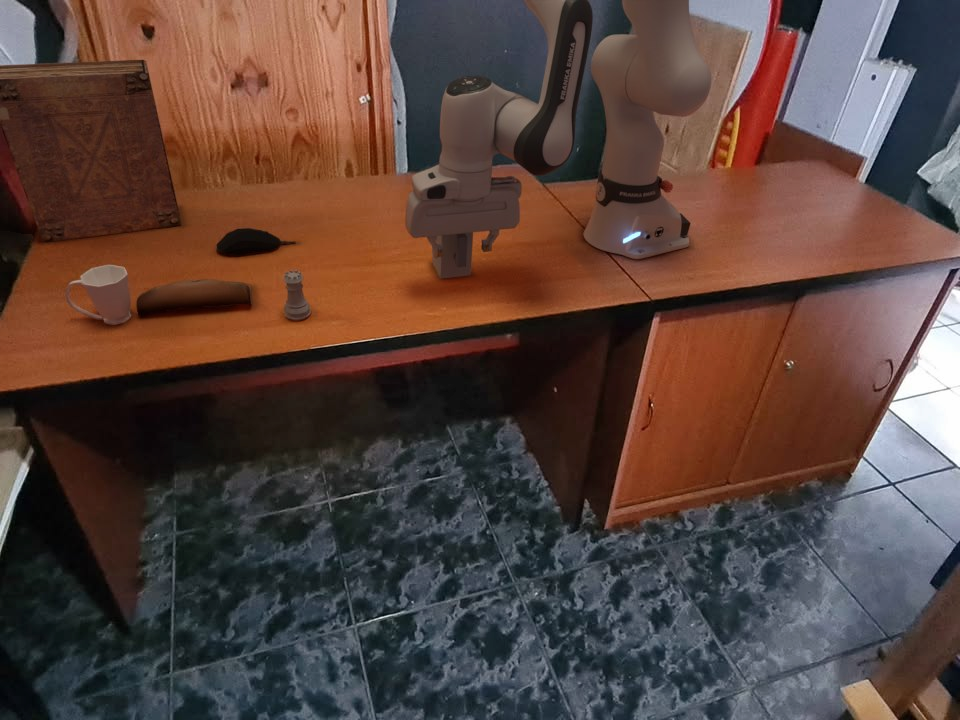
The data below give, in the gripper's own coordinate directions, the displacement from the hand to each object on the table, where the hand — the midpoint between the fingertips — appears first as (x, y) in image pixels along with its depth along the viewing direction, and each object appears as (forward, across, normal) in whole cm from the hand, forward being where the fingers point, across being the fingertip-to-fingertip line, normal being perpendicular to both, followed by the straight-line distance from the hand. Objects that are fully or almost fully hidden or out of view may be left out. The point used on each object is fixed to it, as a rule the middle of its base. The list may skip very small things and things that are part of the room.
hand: (462, 253), depth 124 cm
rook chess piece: (+7, +30, +3) cm, 31 cm away
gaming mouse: (+7, +35, -23) cm, 42 cm away
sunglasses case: (+7, +46, -5) cm, 47 cm away
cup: (+7, +60, -3) cm, 60 cm away
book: (+7, +62, -39) cm, 73 cm away
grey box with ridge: (+1, 0, -9) cm, 9 cm away
